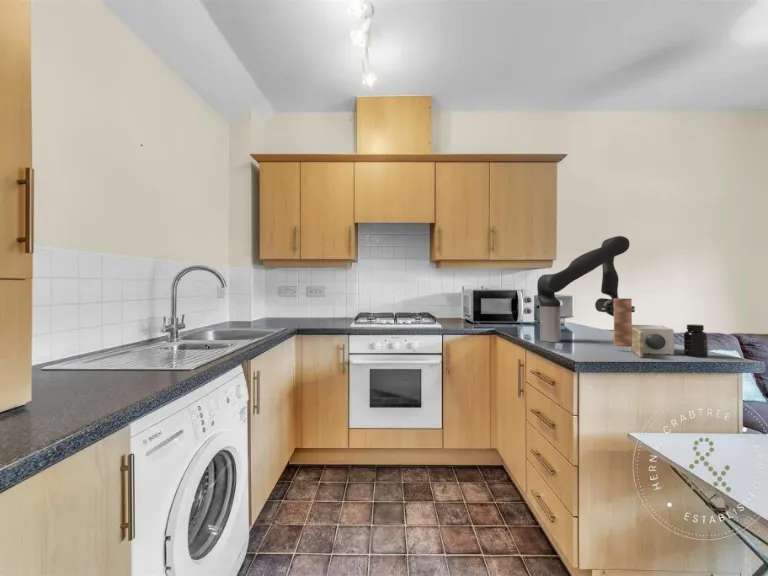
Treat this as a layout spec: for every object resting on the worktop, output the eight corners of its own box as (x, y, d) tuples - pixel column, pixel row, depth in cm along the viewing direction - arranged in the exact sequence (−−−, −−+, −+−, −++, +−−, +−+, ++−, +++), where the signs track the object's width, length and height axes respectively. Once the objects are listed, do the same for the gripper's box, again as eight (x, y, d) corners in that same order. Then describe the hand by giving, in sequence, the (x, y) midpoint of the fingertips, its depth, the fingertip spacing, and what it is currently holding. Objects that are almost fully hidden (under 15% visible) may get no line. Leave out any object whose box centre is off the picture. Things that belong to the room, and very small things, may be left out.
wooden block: (621, 355, 132) (620, 299, 132) (614, 349, 144) (613, 298, 144) (643, 357, 129) (642, 299, 129) (633, 350, 142) (633, 298, 142)
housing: (637, 353, 137) (637, 328, 137) (628, 347, 152) (628, 324, 151) (675, 355, 132) (675, 330, 132) (662, 348, 147) (661, 325, 146)
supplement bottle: (698, 354, 135) (697, 323, 135) (713, 357, 128) (712, 325, 128) (679, 354, 136) (679, 323, 136) (693, 357, 129) (692, 325, 129)
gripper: (597, 299, 162) (603, 301, 146) (631, 299, 156) (641, 301, 140) (597, 315, 162) (603, 318, 146) (631, 316, 156) (641, 319, 140)
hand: (622, 310), depth 143 cm, fingers closed
